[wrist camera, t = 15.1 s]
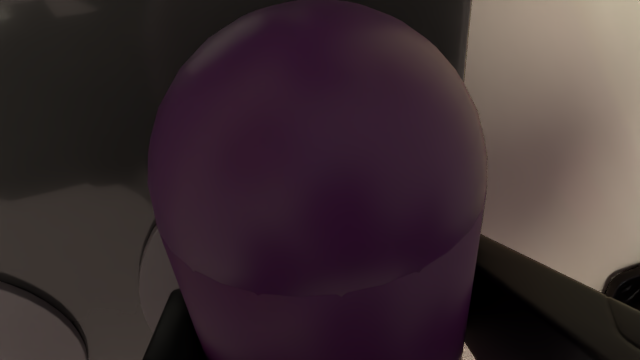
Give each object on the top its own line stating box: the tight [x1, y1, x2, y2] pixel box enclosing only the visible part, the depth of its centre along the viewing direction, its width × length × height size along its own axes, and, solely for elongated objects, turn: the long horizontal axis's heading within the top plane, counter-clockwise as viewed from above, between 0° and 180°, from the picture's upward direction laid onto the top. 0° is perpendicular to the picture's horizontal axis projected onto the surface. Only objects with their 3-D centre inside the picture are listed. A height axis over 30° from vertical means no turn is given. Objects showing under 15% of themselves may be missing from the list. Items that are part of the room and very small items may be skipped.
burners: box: [0, 226, 180, 360], centre depth 8 cm, size 15×18×1 cm
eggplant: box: [147, 0, 487, 360], centre depth 9 cm, size 12×5×5 cm, turn 5°
